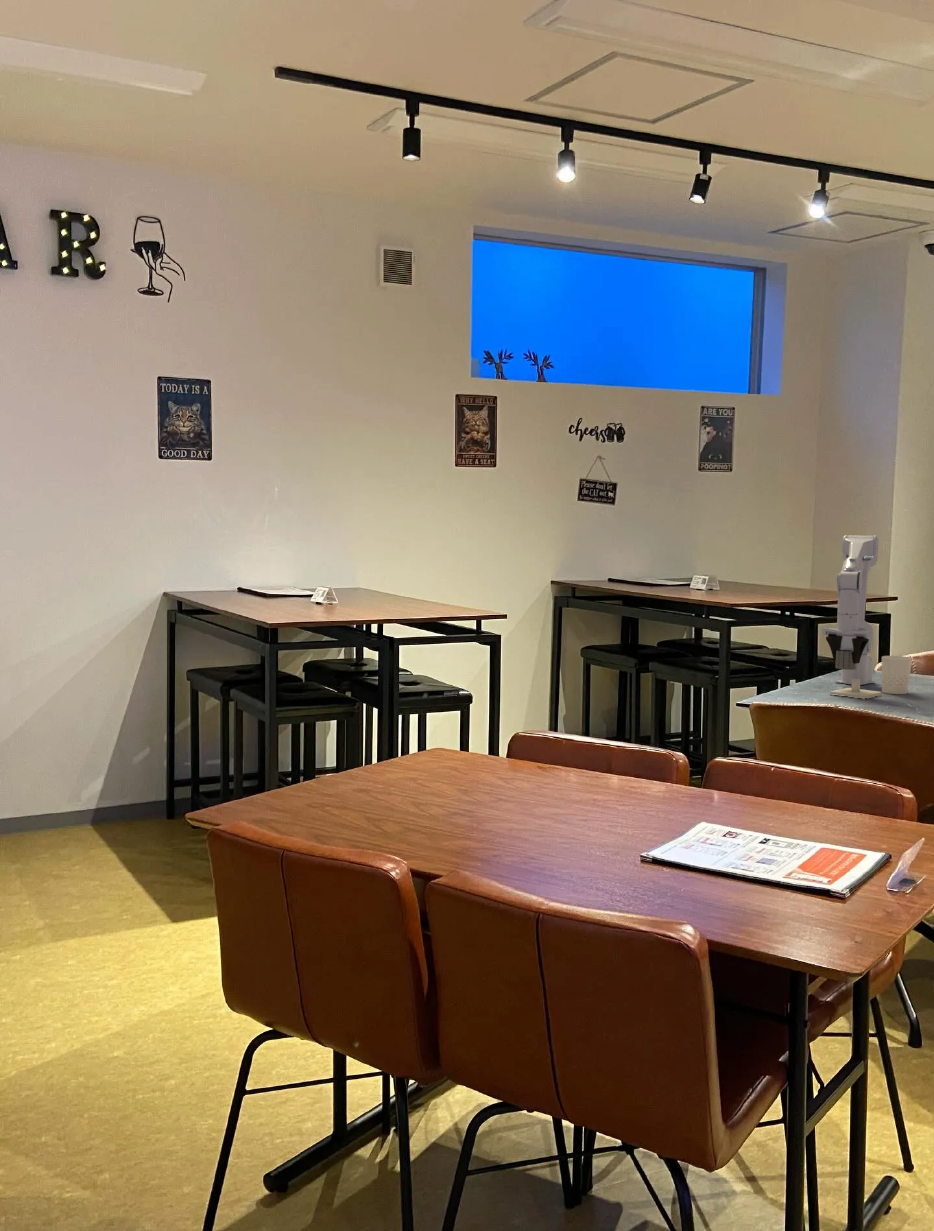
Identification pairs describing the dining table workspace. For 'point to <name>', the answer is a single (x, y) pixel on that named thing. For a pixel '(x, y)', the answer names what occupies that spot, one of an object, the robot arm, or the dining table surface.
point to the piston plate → (858, 694)
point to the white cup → (895, 674)
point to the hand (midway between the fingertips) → (846, 662)
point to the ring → (845, 660)
